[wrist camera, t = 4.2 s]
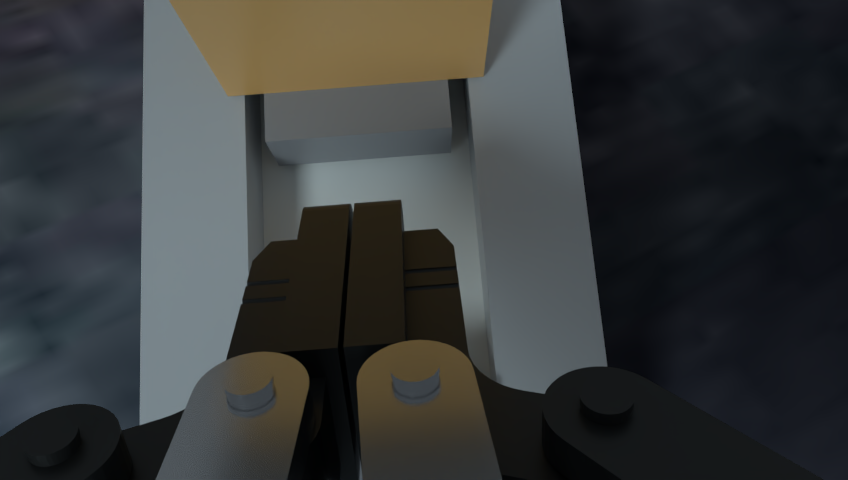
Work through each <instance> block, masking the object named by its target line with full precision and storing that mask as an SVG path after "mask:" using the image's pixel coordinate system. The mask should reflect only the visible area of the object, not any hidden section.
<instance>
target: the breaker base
mask: <svg viewBox="0 0 848 480" xmlns="http://www.w3.org/2000/svg"><path fill="white" fill-rule="evenodd" d="M448 88H449V99H450V111H451V122H452V139H451V153H440V154H427V155H414V156H401V157H388V158H375V159H362V160H349V161H336V162H323V163H310V164H297V165H284V166H279V165H278V163H277V161H276V159H275V158H274V156H273V154H272V153H271V151H270V149H269V147H268V146H267V144H266V142H265V118H264V94H254V95H241V96H227V94H226V92H225V91H224V89H223V88H222V86H221V84H220V83H219V81H218V79H217V78H216V76H215V74H214V73H213V71H212V70H211V68H210V66H209V65H208V63H207V61H206V60H205V58H204V57H203V55H202V53H201V52H200V50H199V48H198V47H197V45H196V44H195V42H194V40H193V39H192V37H191V35H190V34H189V32H188V31H187V29H186V27H185V26H184V24H183V22H182V21H181V19H180V18H179V16H178V14H177V13H176V11H175V9H174V8H173V6H172V5H171V3H170V1H169V0H144V56H143V154H142V252H141V349H140V425H142V424H145V423H148V422H152V421H155V420H158V419H162V418H164V417H167V416H170V415H173V414H175V413H177V412H180V411H182V410H184V409H185V408H186V405H187V403H188V400H189V398H190V396H191V393H192V391H193V389H194V387H195V385H196V384H197V382H198V381H199V380H200V379H201V377H202V376H203V375H204V374H206V373H207V372H208V371H209V370H210V369H212V368H213V367H215V366H216V365H218V364H220V363H222V362H224V361H226V358H227V354H228V350H229V347H230V343H231V339H232V335H233V332H234V328H235V324H236V321H237V317H238V313H239V309H240V306H241V304H242V298H243V294H244V291H245V287H246V286H247V280H248V276H249V272H250V268H251V265H252V261H253V260H254V259H255V258H256V257H257V256H258V255H259V254H260V253H261V251H262V250H263V249H264V248H265V247H266V246H267V245H268V244H269V243H270V242H271V241H283V240H296V239H297V236H298V231H299V226H300V220H301V215H302V210H303V208H304V207H312V206H325V205H339V204H351V205H352V209H353V211H354V203H363V202H376V201H389V200H401V201H402V210H403V220H404V231H411V230H424V229H437V228H438V229H439V230H440V231H441V232H442V234H443V235H444V236H445V237H446V238H447V239H448V240H449V241H450V242H451V243H452V244H453V245H454V250H455V258H456V265H457V272H458V280H459V287H460V295H461V302H462V309H463V317H464V324H465V331H466V339H467V346H468V352H469V356H470V358H471V360H472V362H473V364H474V365H475V366H476V367H477V369H478V370H479V371H480V372H482V373H483V374H484V375H485V376H487V377H488V378H490V379H491V380H493V381H495V382H497V383H499V384H501V385H504V386H507V387H510V388H514V389H519V390H523V391H530V392H536V393H542V394H545V392H546V390H547V388H548V387H549V386H550V385H551V383H552V382H554V381H555V380H556V379H557V378H558V377H560V376H562V375H564V374H565V373H568V372H570V371H573V370H576V369H580V368H585V367H594V366H605V367H607V359H606V352H605V344H604V336H603V328H602V321H601V313H600V305H599V297H598V290H597V282H596V274H595V266H594V258H593V251H592V243H591V235H590V227H589V220H588V212H587V204H586V196H585V189H584V181H583V173H582V165H581V158H580V150H579V142H578V134H577V126H576V119H575V111H574V103H573V95H572V88H571V80H570V72H569V64H568V57H567V49H566V41H565V33H564V25H563V18H562V10H561V2H560V0H493V3H492V11H491V19H490V28H489V36H488V44H487V52H486V60H485V69H484V77H475V78H462V79H449V80H448ZM359 480H363V477H362V469H361V462H360V476H359Z"/></svg>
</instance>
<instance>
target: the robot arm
mask: <svg viewBox="0 0 848 480" xmlns="http://www.w3.org/2000/svg"><path fill="white" fill-rule="evenodd" d="M360 462H361V469H362V477H363V480H823V479H822V478H820V477H818V476H816V475H814V474H813V473H811V472H809V471H807V470H806V469H804V468H802V467H800V466H799V465H797V464H795V463H793V462H792V461H790V460H788V459H786V458H785V457H783V456H781V455H779V454H778V453H776V452H774V451H772V450H771V449H769V448H767V447H765V446H764V445H762V444H760V443H758V442H757V441H755V440H753V439H751V438H750V437H748V436H746V435H744V434H743V433H741V432H739V431H737V430H736V429H734V428H732V427H730V426H729V425H727V424H725V423H723V422H722V421H720V420H718V419H716V418H714V417H713V416H711V415H709V414H707V413H706V412H704V411H702V410H700V409H699V408H697V407H695V406H693V405H692V404H690V403H688V402H686V401H685V400H683V399H681V398H679V397H678V396H676V395H674V394H672V393H671V392H669V391H667V390H665V389H664V388H662V387H660V386H658V385H657V384H655V383H653V382H651V381H650V380H648V379H646V378H644V377H642V376H640V375H638V374H636V373H633V372H630V371H627V370H624V369H619V368H614V367H605V366H594V367H585V368H580V369H576V370H573V371H570V372H568V373H565V374H564V375H562V376H560V377H558V378H557V379H556V380H555V381H554V382H552V383H551V385H550V386H549V387H548V388H547V390H546V392H545V394H542V393H536V392H530V391H523V390H519V389H514V388H510V387H507V386H504V385H501V384H499V383H497V382H495V381H493V380H491V379H490V378H488V377H487V376H485V375H484V374H483V373H482V372H480V371H479V370H478V369H477V367H476V366H475V365H474V364H473V362H472V360H471V358H470V356H469V352H468V346H467V339H466V331H465V324H464V317H463V309H462V302H461V295H460V287H459V280H458V272H457V265H456V258H455V250H454V245H453V244H452V243H451V242H450V241H449V240H448V239H447V238H446V237H445V236H444V235H443V234H442V232H441V231H440V230H439V229H438V228H437V229H424V230H411V231H404V220H403V210H402V201H401V200H389V201H376V202H363V203H354V211H353V209H352V205H351V204H339V205H325V206H312V207H304V208H303V210H302V215H301V220H300V226H299V231H298V236H297V239H296V240H283V241H271V242H270V243H269V244H268V245H267V246H266V247H265V248H264V249H263V250H262V251H261V253H260V254H259V255H258V256H257V257H256V258H255V259H254V260H253V261H252V265H251V268H250V272H249V276H248V280H247V286H246V287H245V291H244V294H243V298H242V304H241V306H240V309H239V313H238V317H237V321H236V324H235V328H234V332H233V335H232V339H231V343H230V347H229V350H228V354H227V358H226V361H224V362H222V363H220V364H218V365H216V366H215V367H213V368H212V369H210V370H209V371H208V372H207V373H206V374H204V375H203V376H202V377H201V379H200V380H199V381H198V382H197V384H196V385H195V387H194V389H193V391H192V393H191V396H190V398H189V400H188V403H187V405H186V408H185V409H184V410H182V411H180V412H177V413H175V414H173V415H170V416H167V417H164V418H162V419H158V420H155V421H152V422H148V423H145V424H142V425H139V426H135V427H132V428H129V429H126V430H121V427H120V425H119V422H118V420H117V418H116V417H115V415H114V414H113V413H111V412H110V411H109V410H107V409H105V408H103V407H100V406H96V405H89V404H73V405H67V406H62V407H58V408H54V409H51V410H48V411H45V412H42V413H40V414H38V415H36V416H34V417H32V418H30V419H28V420H26V421H25V422H23V423H21V424H20V425H18V426H17V427H15V428H14V429H12V430H10V431H9V432H7V433H6V434H4V435H3V436H1V437H0V480H359V476H360Z"/></svg>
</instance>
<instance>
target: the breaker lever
mask: <svg viewBox="0 0 848 480" xmlns="http://www.w3.org/2000/svg"><path fill="white" fill-rule="evenodd" d="M169 1H170V3H171V5H172V6H173V8H174V9H175V11H176V13H177V14H178V16H179V18H180V19H181V21H182V22H183V24H184V26H185V27H186V29H187V31H188V32H189V34H190V35H191V37H192V39H193V40H194V42H195V44H196V45H197V47H198V48H199V50H200V52H201V53H202V55H203V57H204V58H205V60H206V61H207V63H208V65H209V66H210V68H211V70H212V71H213V73H214V74H215V76H216V78H217V79H218V81H219V83H220V84H221V86H222V88H223V89H224V91H225V92H226V94H227V96H241V95H254V94H264V118H265V142H266V144H267V146H268V147H269V149H270V151H271V153H272V154H273V156H274V158H275V159H276V161H277V163H278V165H279V166H284V165H297V164H310V163H323V162H336V161H349V160H362V159H375V158H388V157H401V156H414V155H427V154H440V153H451V139H452V122H451V111H450V99H449V88H448V80H449V79H462V78H475V77H484V69H485V60H486V52H487V44H488V36H489V28H490V19H491V11H492V3H493V0H169Z"/></svg>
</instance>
